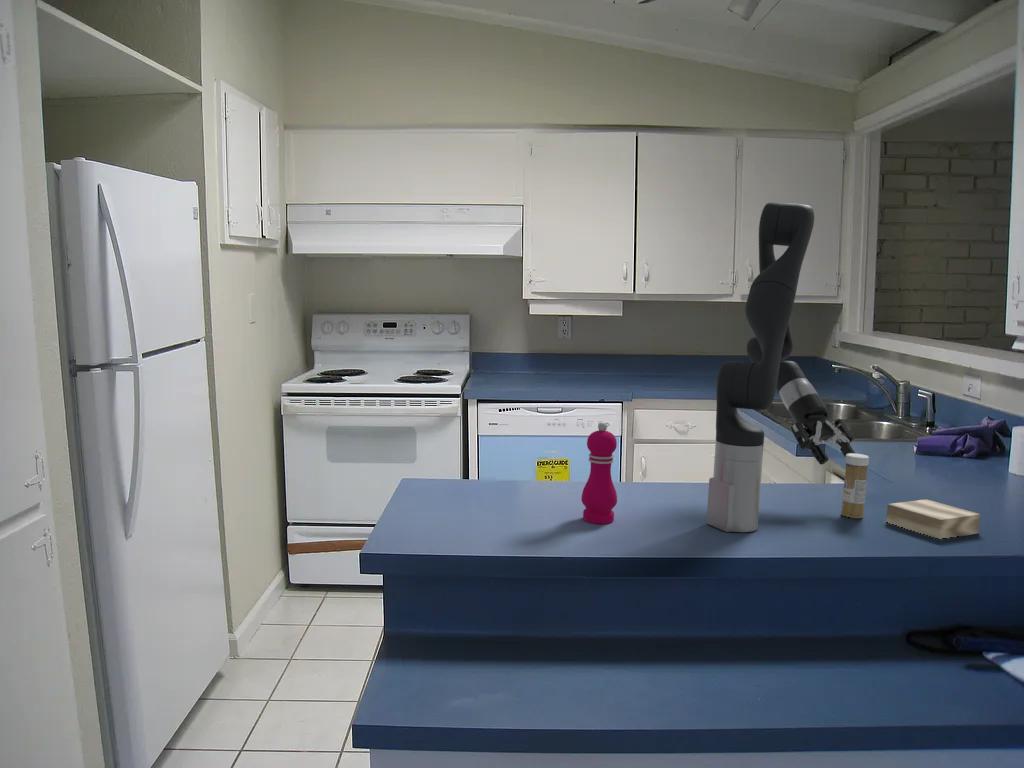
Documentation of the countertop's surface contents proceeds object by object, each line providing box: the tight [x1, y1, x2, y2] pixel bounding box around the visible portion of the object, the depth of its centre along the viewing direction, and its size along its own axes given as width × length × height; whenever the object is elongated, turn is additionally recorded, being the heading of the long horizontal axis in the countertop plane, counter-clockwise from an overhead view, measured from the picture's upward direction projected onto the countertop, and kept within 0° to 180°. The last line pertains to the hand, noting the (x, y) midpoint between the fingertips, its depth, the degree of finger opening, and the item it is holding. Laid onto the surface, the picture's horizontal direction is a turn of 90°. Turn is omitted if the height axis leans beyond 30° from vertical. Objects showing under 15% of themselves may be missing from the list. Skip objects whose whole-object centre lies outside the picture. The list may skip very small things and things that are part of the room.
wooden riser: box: [885, 498, 981, 540], centre depth 158 cm, size 12×12×4 cm
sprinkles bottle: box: [840, 452, 870, 519], centre depth 165 cm, size 5×5×14 cm
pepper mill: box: [580, 422, 618, 525], centre depth 155 cm, size 7×7×20 cm
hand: (839, 461), depth 168 cm, fingers open, 8 cm apart
